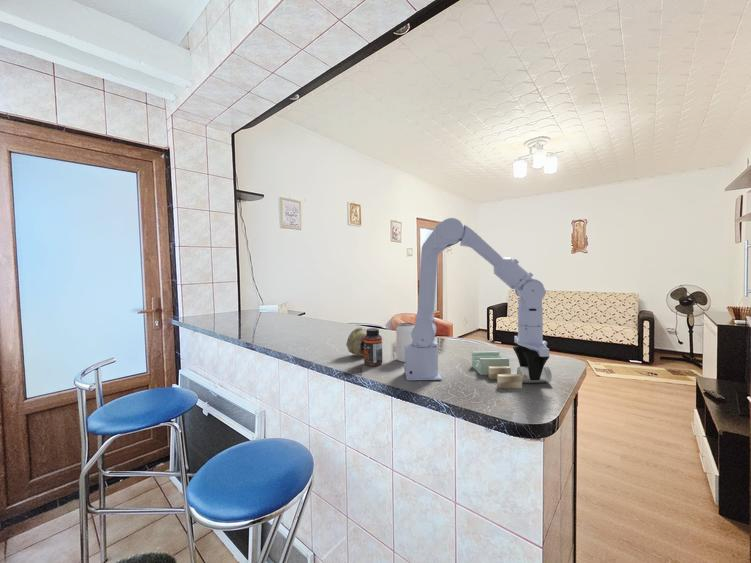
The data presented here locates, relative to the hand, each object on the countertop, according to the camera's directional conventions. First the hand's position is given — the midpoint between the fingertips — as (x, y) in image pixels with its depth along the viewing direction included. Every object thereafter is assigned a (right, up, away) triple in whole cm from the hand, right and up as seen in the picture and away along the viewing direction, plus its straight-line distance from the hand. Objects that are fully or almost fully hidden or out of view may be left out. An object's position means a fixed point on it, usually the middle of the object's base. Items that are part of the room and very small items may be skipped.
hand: (530, 376), depth 79 cm
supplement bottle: (-41, -2, +19) cm, 45 cm away
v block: (-7, -1, +10) cm, 12 cm away
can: (-30, -2, +23) cm, 38 cm away
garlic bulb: (-46, -2, +29) cm, 54 cm away
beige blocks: (-7, -2, 0) cm, 7 cm away
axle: (+1, -1, 0) cm, 2 cm away
